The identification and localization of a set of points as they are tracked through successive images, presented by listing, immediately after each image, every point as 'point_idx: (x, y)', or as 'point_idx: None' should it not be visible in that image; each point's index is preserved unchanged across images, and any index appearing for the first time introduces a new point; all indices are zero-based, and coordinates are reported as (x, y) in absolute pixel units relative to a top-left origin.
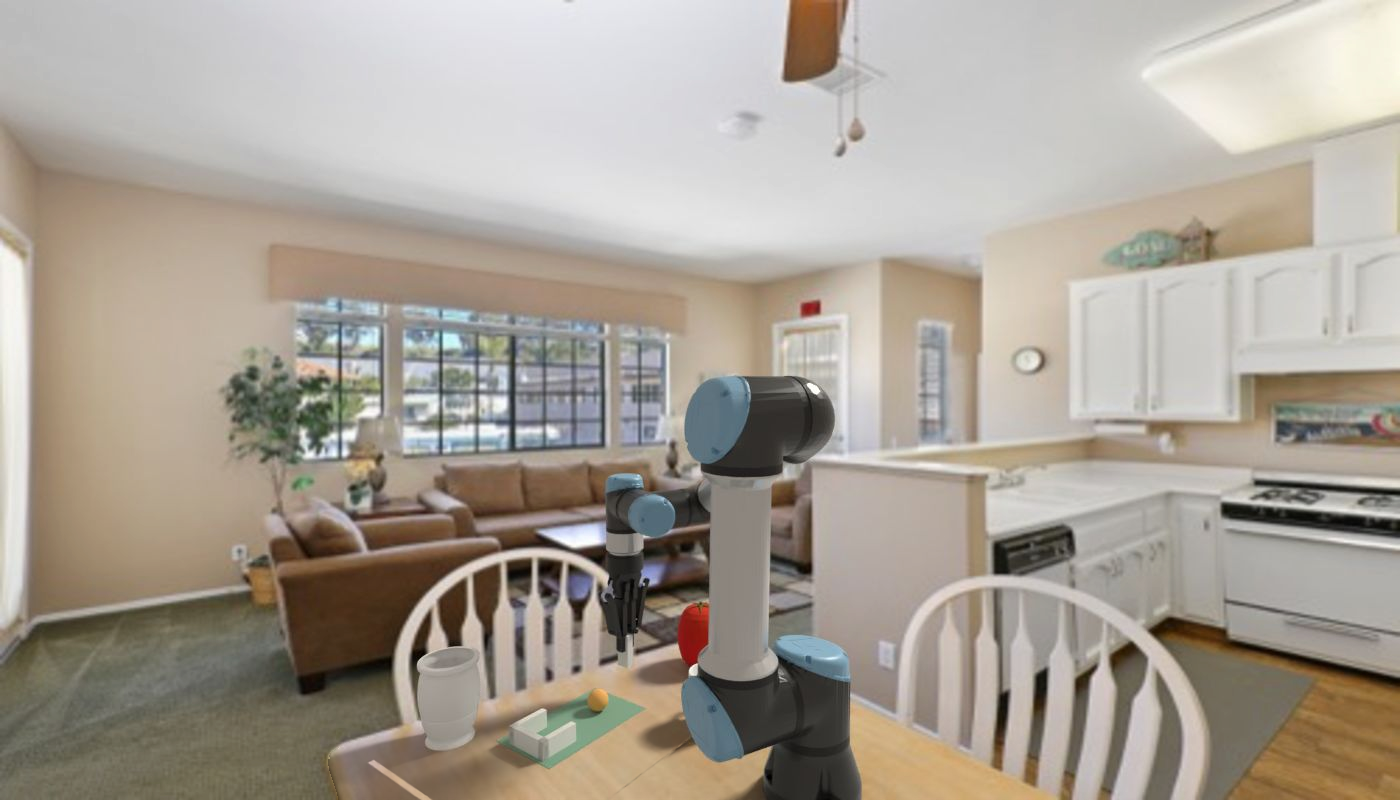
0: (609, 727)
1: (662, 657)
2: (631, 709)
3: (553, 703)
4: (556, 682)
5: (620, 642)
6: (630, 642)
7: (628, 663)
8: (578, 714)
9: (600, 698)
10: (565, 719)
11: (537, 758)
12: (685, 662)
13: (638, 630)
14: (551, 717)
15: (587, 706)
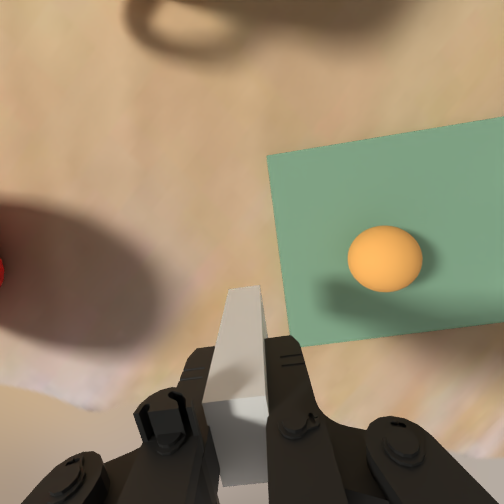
0: (418, 145)
1: (40, 362)
2: (302, 182)
3: (399, 362)
4: None
5: (311, 386)
6: (235, 357)
7: (255, 293)
8: None
9: (405, 237)
10: (457, 272)
11: None
12: (1, 269)
13: (137, 409)
14: (469, 305)
15: None
